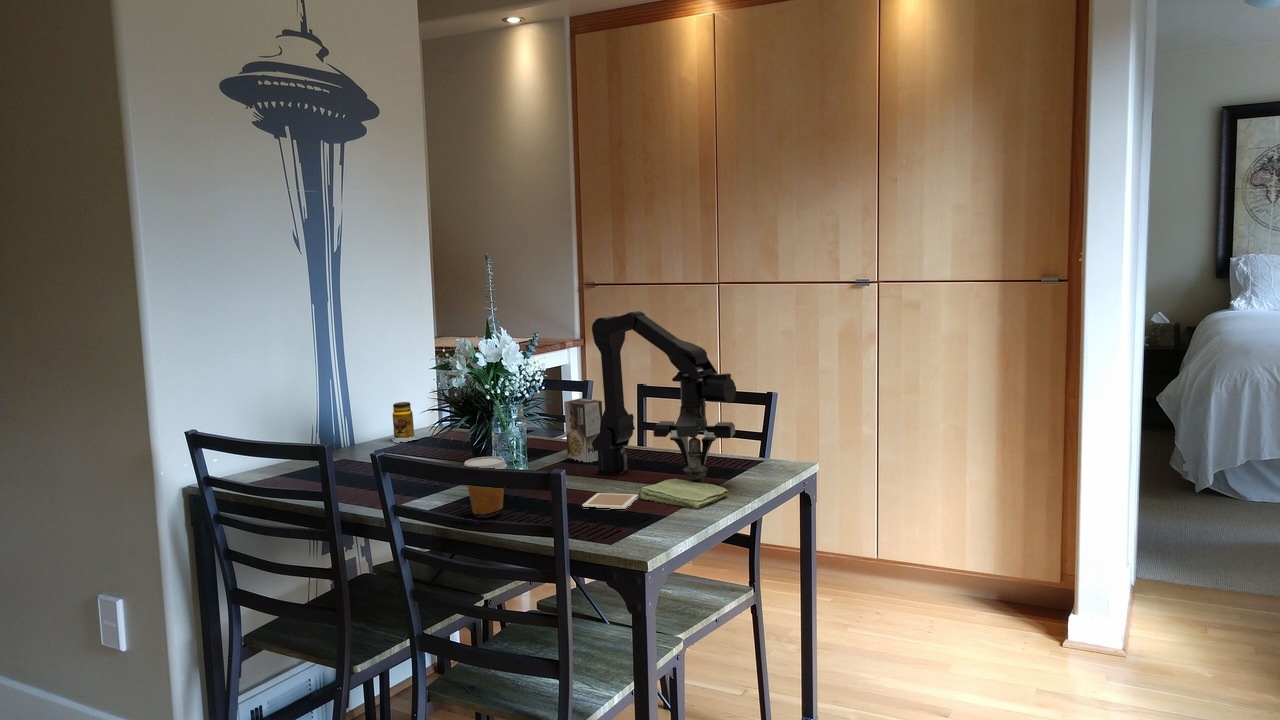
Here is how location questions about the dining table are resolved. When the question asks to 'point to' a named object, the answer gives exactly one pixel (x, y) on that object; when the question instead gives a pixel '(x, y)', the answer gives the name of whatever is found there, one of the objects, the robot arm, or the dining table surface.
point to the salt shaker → (695, 462)
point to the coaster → (611, 500)
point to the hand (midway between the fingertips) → (695, 465)
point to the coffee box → (582, 428)
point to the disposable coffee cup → (483, 496)
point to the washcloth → (682, 493)
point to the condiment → (403, 420)
